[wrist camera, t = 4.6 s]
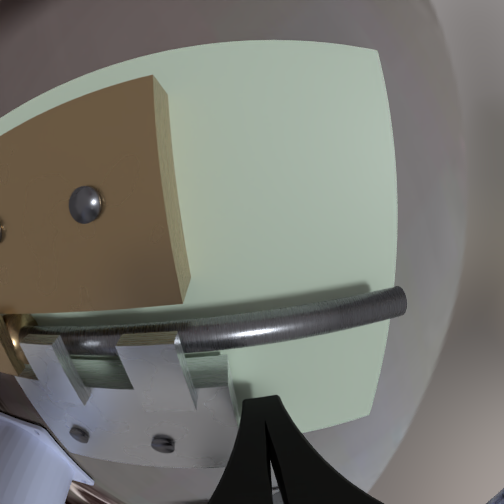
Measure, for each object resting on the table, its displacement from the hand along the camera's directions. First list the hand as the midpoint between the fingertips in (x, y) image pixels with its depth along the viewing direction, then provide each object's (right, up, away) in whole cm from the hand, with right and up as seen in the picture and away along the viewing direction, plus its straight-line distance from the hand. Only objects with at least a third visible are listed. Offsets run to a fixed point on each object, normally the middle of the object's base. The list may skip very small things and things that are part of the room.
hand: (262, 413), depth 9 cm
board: (-4, +4, 0) cm, 6 cm away
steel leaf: (-6, 0, 0) cm, 6 cm away
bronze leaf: (-4, +7, -1) cm, 8 cm away
